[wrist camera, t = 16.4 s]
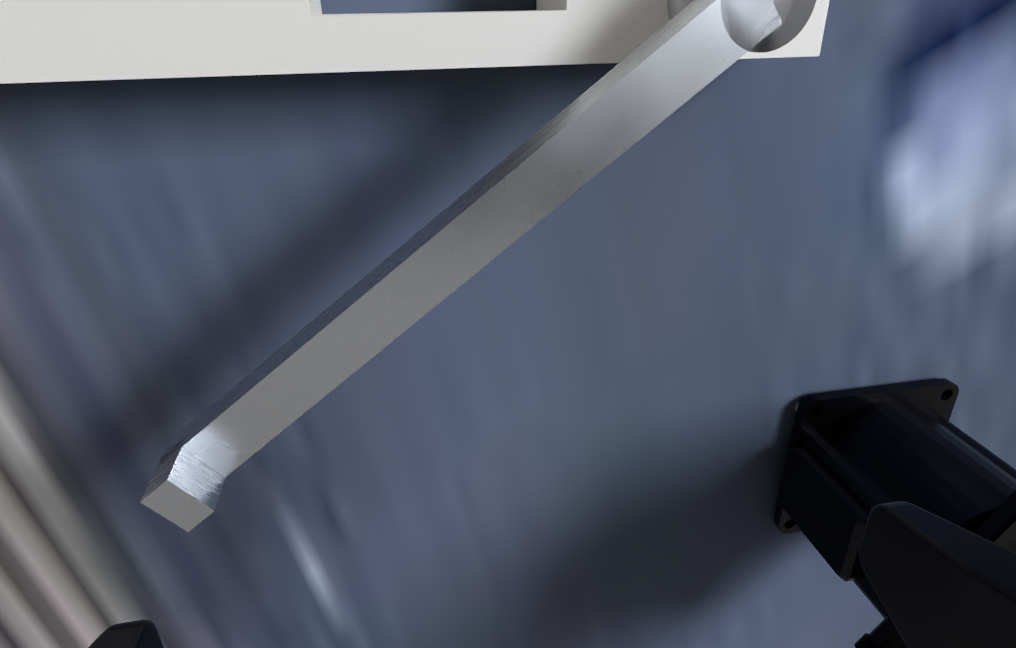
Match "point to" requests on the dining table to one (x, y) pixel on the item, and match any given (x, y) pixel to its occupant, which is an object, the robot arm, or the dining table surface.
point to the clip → (465, 240)
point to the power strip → (323, 37)
